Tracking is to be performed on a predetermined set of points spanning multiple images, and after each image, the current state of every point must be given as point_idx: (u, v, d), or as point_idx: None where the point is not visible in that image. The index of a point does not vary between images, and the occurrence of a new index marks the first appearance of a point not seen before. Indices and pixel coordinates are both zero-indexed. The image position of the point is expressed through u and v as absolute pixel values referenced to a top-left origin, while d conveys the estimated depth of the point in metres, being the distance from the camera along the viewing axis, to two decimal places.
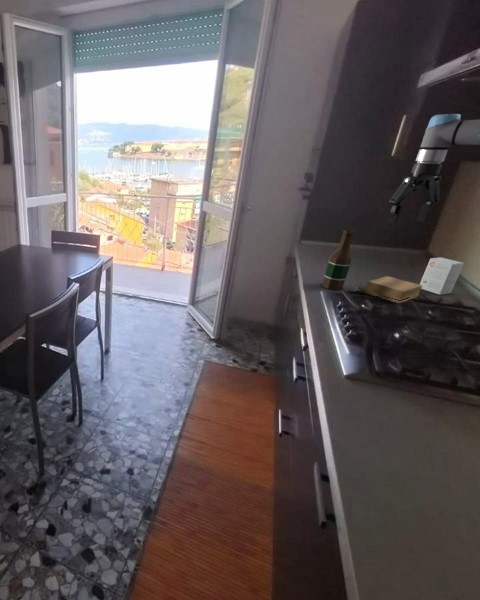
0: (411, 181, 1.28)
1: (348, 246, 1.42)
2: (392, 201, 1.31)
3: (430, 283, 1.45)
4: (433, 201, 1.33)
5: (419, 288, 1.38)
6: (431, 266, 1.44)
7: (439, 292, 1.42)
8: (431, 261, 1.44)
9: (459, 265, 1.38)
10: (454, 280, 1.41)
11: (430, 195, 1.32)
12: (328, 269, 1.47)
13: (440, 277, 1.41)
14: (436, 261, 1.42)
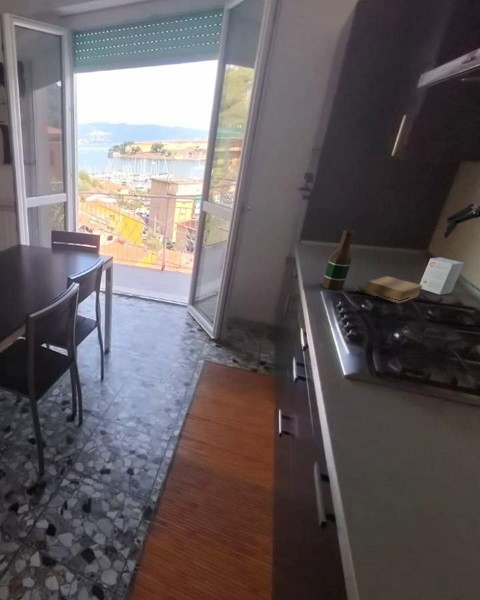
0: (470, 206, 1.47)
1: (348, 246, 1.42)
2: None
3: (430, 283, 1.45)
4: None
5: (419, 288, 1.38)
6: (431, 266, 1.44)
7: (439, 292, 1.42)
8: (431, 261, 1.44)
9: (459, 265, 1.38)
10: (454, 280, 1.41)
11: None
12: (328, 269, 1.47)
13: (440, 277, 1.41)
14: (436, 261, 1.42)
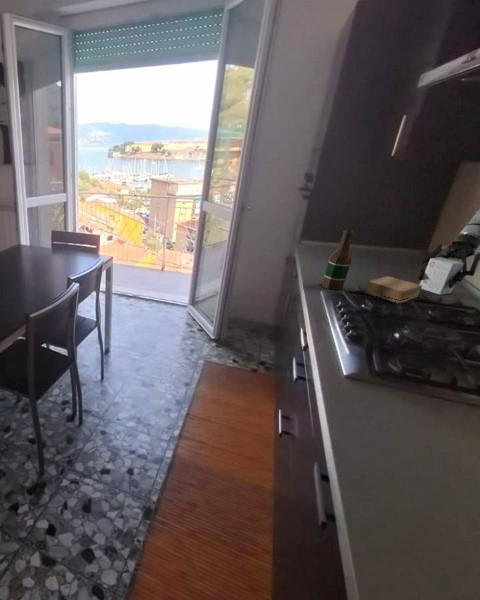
0: (439, 247, 1.48)
1: (348, 246, 1.42)
2: None
3: (430, 283, 1.45)
4: (464, 269, 1.38)
5: (419, 288, 1.38)
6: (431, 266, 1.44)
7: (439, 292, 1.42)
8: (431, 261, 1.44)
9: (459, 265, 1.38)
10: None
11: None
12: (328, 269, 1.47)
13: (440, 277, 1.41)
14: (436, 261, 1.42)
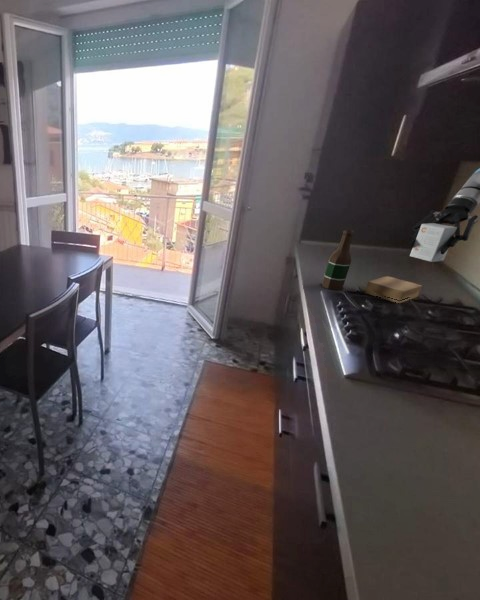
0: (432, 212, 1.40)
1: (348, 246, 1.42)
2: None
3: (422, 250, 1.37)
4: None
5: (419, 288, 1.38)
6: (422, 232, 1.36)
7: (431, 259, 1.35)
8: (422, 227, 1.36)
9: (452, 229, 1.31)
10: None
11: None
12: (328, 269, 1.47)
13: (432, 243, 1.34)
14: (428, 226, 1.35)
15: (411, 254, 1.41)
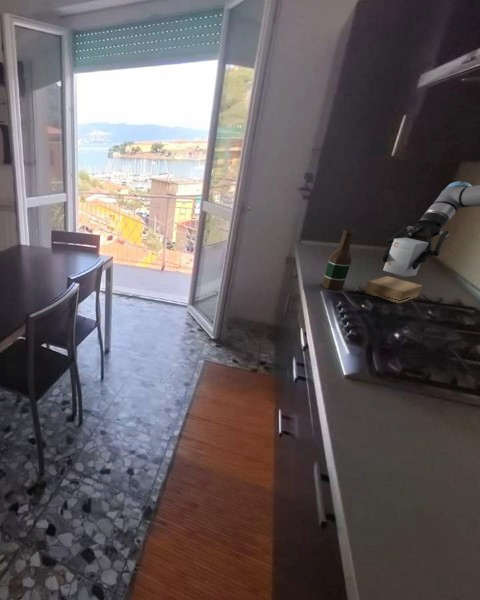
0: (405, 227, 1.40)
1: (348, 246, 1.42)
2: None
3: (394, 265, 1.37)
4: (429, 249, 1.31)
5: (419, 288, 1.38)
6: (395, 247, 1.36)
7: (403, 274, 1.35)
8: (395, 241, 1.36)
9: (423, 245, 1.31)
10: None
11: None
12: (328, 269, 1.47)
13: (404, 258, 1.34)
14: (400, 241, 1.34)
15: (384, 268, 1.41)
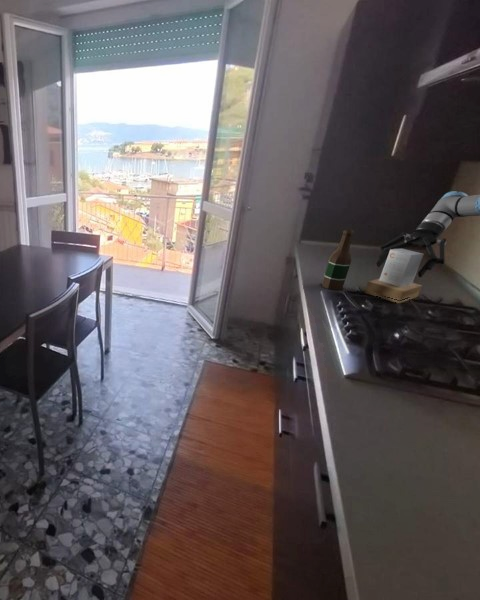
0: (402, 234, 1.42)
1: (348, 246, 1.42)
2: None
3: (390, 275, 1.39)
4: (434, 257, 1.30)
5: (419, 288, 1.38)
6: (391, 257, 1.38)
7: (399, 284, 1.36)
8: (391, 252, 1.38)
9: (418, 256, 1.33)
10: (415, 272, 1.35)
11: (429, 251, 1.32)
12: (328, 269, 1.47)
13: (400, 269, 1.36)
14: (396, 252, 1.36)
15: (380, 278, 1.43)
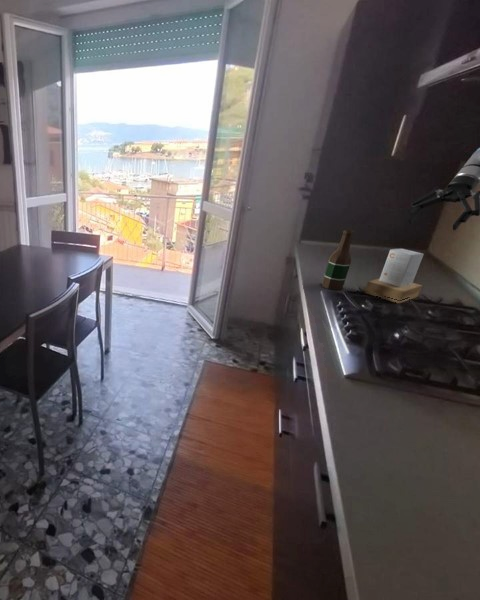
0: (434, 190, 1.40)
1: (348, 246, 1.42)
2: None
3: (390, 275, 1.39)
4: (469, 209, 1.29)
5: (419, 288, 1.38)
6: (391, 257, 1.38)
7: (399, 284, 1.36)
8: (391, 252, 1.38)
9: (418, 256, 1.33)
10: (415, 272, 1.35)
11: (464, 204, 1.31)
12: (328, 269, 1.47)
13: (400, 269, 1.36)
14: (396, 252, 1.36)
15: (380, 278, 1.43)
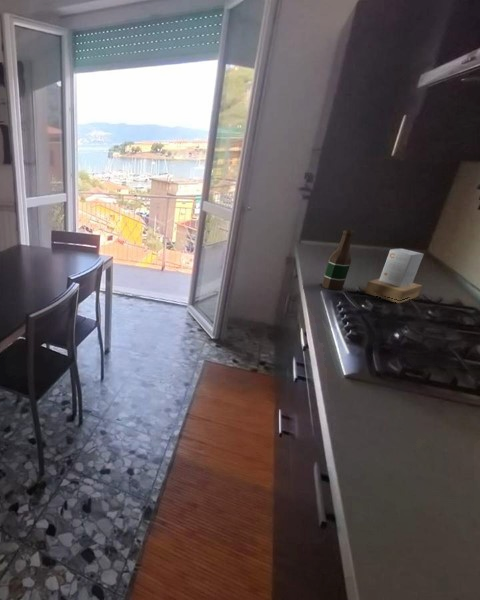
0: None
1: (348, 246, 1.42)
2: None
3: (390, 275, 1.39)
4: None
5: (419, 288, 1.38)
6: (391, 257, 1.38)
7: (399, 284, 1.36)
8: (391, 252, 1.38)
9: (419, 256, 1.33)
10: (415, 272, 1.35)
11: None
12: (328, 269, 1.47)
13: (400, 269, 1.36)
14: (396, 252, 1.36)
15: (381, 278, 1.43)
